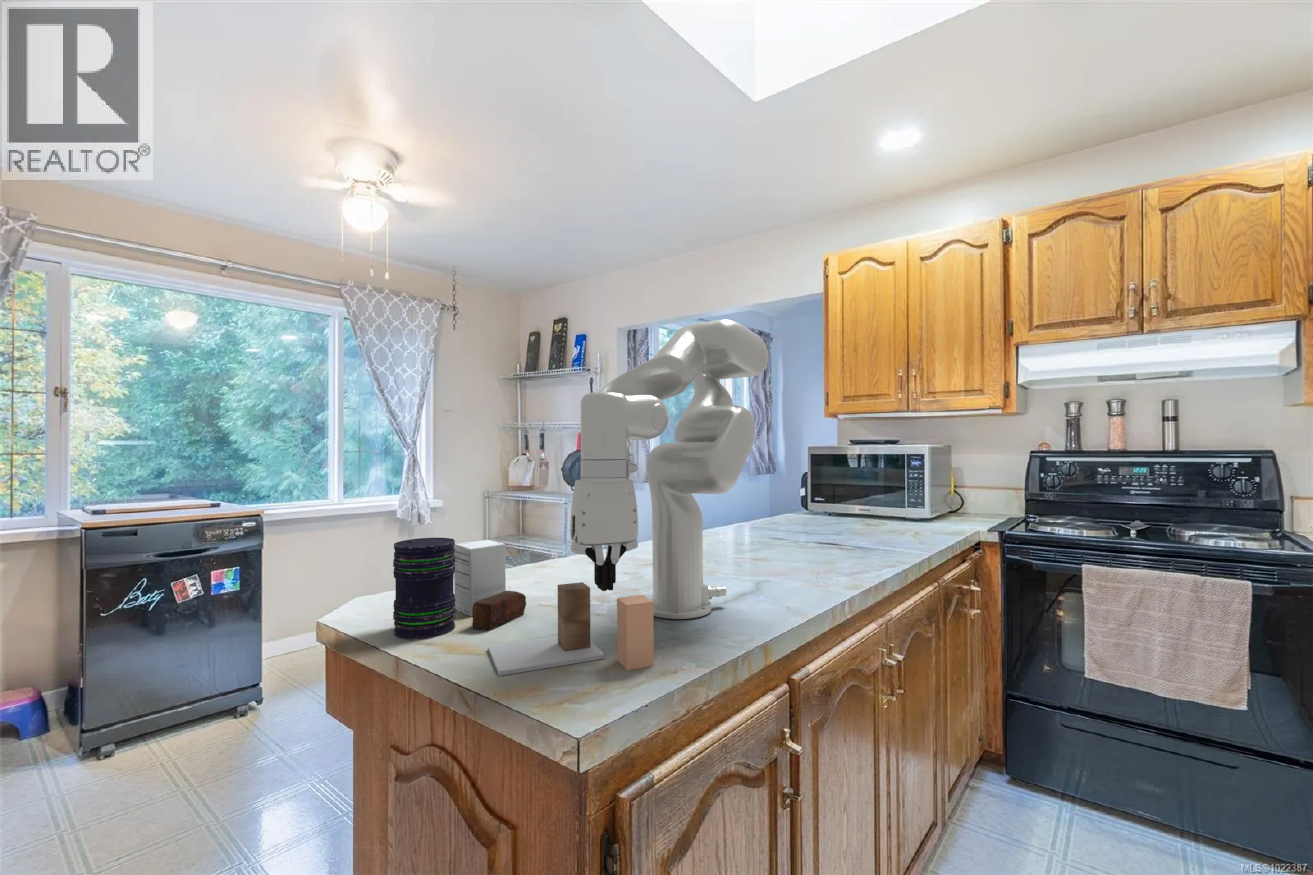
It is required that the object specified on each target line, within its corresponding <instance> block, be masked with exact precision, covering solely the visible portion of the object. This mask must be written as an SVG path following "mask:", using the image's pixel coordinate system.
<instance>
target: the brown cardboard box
mask: <svg viewBox="0 0 1313 875" xmlns="http://www.w3.org/2000/svg"><path fill="white" fill-rule="evenodd" d="M557 636H558V644H559V645H560V647H561V648H562V649H563V650H564V652H566V651H572V650H579V649H585V648H591V641H592V640H591V587H590V586H588V585H587V584H585V583H584V582H583V581H580V582H569V583H564V584H563V583H562V584H557Z"/></svg>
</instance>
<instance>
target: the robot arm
mask: <svg viewBox="0 0 1313 875" xmlns="http://www.w3.org/2000/svg"><path fill="white" fill-rule="evenodd" d="M768 362H769V352H768V347H767V345H766V343H765V341H764V340H763V339H762V338H761V337H760V336H759V335H758V334H756V333H755V332H753V330H750V329H749V328H747V327H746V326H744V325H743V324H741V323H739V322H736V321H733V320H730V319H718V320H710V321H703V322H695V323H690V324H687V325H685V326H682V327H681V328H680V329H678V330H677V331H676V332H675V334H674V335H672V337H670V339H669V340H668V341H667V342H666V343H665V345H664V346H662V347H661V349H660V350H659V351H658V352H657V353H656V354H654V356H653V357H652V358H650V359H648V360H645V361H644V362H642V363H640V364H639V365H637V366H635V367H634V368H631V369H630V370H627V371H626V372H623V373H622V374H620V375H618V376H617V377H616V378H613V379H612V380H611V381H609V382H608V383H607V384H606V385H605V386H604V387H603V388H601V389H600V391H596V392H588V393H586V394H584V395H583V396H582V398H581V400H580V479H578V480H577V479H576V480H575V481H574V486H573V491H572V492H573V493H572V498H571V508H570V521H569V536H570V539H571V541H572V542H571V546H570V551H571V552H572V553H574V554H578V555H584V556H586V557H587V558H589V559H590V560H591V561H592V563H593V564H594V568H593V570H594V573H593V575H594V584H595V586H596V587H597V589H599V590H601V591H602V592H607V591H614V584H616V582H617V581H616V580H617V579H616V578H617V576H616V575H617V570H616V568H617V566H616V565H617V564H618V563H619V561H620V559H621V557H623V555H624V554H625V553H626V552H629V551H632V550H635V549H637V548H638V547H639V544H638V543H639V542H638V536H639V515H638V505H637V496H636V491H635V486H634V485H635V484H634V481H633V480H632V479H630V476H631V473H634V472H635V473H636V472H637V470H638V467H637V466H638V465H637V464H636V463H632V462H630V461H631V460H630V459H629V456H630V455H629V454H630V450H629V448H630V447H629V446H630V445H629V444H630V442H629V441H644V440H645V441H647V440H652V439H655V438H657V437H659V436H660V435H662V434H663V433H664V432H665V430H666V429H667V426H668V423H669V413H668V408H667V407H666V405H665V403H664V402H663V401H664V400H667V399H670V398H673V397H675V396H678V395H680V394H682V393H683V392H684V391H686V390H687V389H688V388H689V386H690V385H691V384H692V383H693V390H694V392H693V393H694V395H693V397H692V398H691V400H690V402H689V404H688V405H687V407H686V409H685V410H684V412H682V415H681V416H680V419H679V420H678V422H677V424H676V427H675V430H674V441H673V442H664V443H661V444H658V445H656V446H655V447H654V448H652V449H651V451H650V452H649V454H648V456H647V458H646V462H645V463H646V464H645V465H646V468H645V469H646V477H647V482H648V487H649V493H650V498H651V499H650V500H651V515H652V516H651V517H652V518H651V522H652V523H651V524H652V530H651V531H652V532H651V535H652V536H651V541H652V542H651V543H652V546H651V547H652V598H651V599H650V598H649V599H650V600H652V601H653V617H657V618H662V619H668V620H687V619H696V618H701V617H704V616H707V615H708V614H710V613H711V611H712V610H713V608H712V607H713V606H712V603H711V601H710V600H712V599H713V598H714V597H715V598H718V597H725V596H726V595H727V589H726V586H724V585H720V586H719V585H718V586H713V585H712V584H711V585H708V584H705V583H704V544H703V543H704V540H703V539H704V538H703V536H704V535H703V532H704V530H703V529H704V528H703V526H704V524H703V522H704V521H703V520H704V519H703V514H702V510H701V509H700V506H699V504H698V502H697V500H696V499H695V497H694V496H693V494H699V495H701V494H702V495H721V494H727V493H728V492H730V491H731V490H732V489H733V488H734V487H735V485H736V483H737V482H738V479H739V477H740V475H741V472H742V471H743V468H744V466H745V465H746V462H747V460H748V458H749V455H750V453H751V451H752V448H753V445H754V442H755V438H756V425H755V419H754V416H753V415H752V413H751V412H750V410H748V409H747V407H746V408H745V407H744V406H741V405H735V404H734V405H733V399H732V396H731V395H730V393H729V391H728V390H727V389H726V388H725V386H724V385H723V384H721V382H720V380H727V379H728V380H729V379H738V378H740V379H741V378H750V377H751V378H752V377H757V376H760V375H761V374H762V373H764V372H765V370H766V369H767V367H768ZM603 546H606V552H605V553H606V554H605V556H604V550H603Z"/></svg>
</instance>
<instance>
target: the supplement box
mask: <svg viewBox="0 0 1313 875" xmlns="http://www.w3.org/2000/svg"><path fill="white" fill-rule="evenodd" d="M454 548H455V567H456V568H455V573H454V574H453V593H454V595H455V599H456V601H455V605H456V611H458V612H460V613H461V614H464V615H466V614H467V615H466V616H469V617H472V608H473V604H474V603H475V602H476V601H478V600H481V599H484V598H488V597H491V596H493V595H496V594H499V593H501V592H503V591H507V589H506V587H507V586H506V584H507V583H506V580H507V579H506V544H505V543H504V542H500V541H495V540H490V539H483V540H477V541H468V542H461V543H455V545H454ZM472 618H473V617H472Z"/></svg>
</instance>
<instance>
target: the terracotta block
mask: <svg viewBox="0 0 1313 875" xmlns="http://www.w3.org/2000/svg"><path fill="white" fill-rule="evenodd" d="M616 629H617V630H616V632H617V633H616V638H617V639H616V642H617V645H616V646H617V650H616V651H617V655H616V656H617V657H616V658H617V661H618V662H619V664H620V665H622V666H623V667H624V669H625V670H626V671H630V670H631V671H632V670H637V669H642V668H647V667H648V668H649V667H654V666H655V664H654V663H655V660H654V659H655V658H654V655H655V652H654V651H655V650H654V648H655V647H654V646H655V645H654V644H655V643H654V642H655V640H654V639H655V638H654V637H655V635H654V616H653V601H652V600H650V598H648V597H647V596H645V595H643V594H639V595H630V596H623V597H617V598H616Z"/></svg>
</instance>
